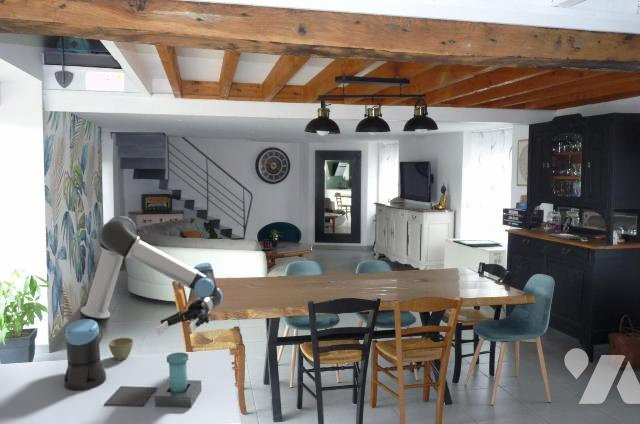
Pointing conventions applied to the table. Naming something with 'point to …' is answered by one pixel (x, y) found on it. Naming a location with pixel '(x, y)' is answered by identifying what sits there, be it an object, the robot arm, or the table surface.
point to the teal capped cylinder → (178, 372)
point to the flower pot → (121, 347)
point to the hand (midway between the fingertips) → (174, 330)
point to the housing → (178, 395)
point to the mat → (130, 396)
